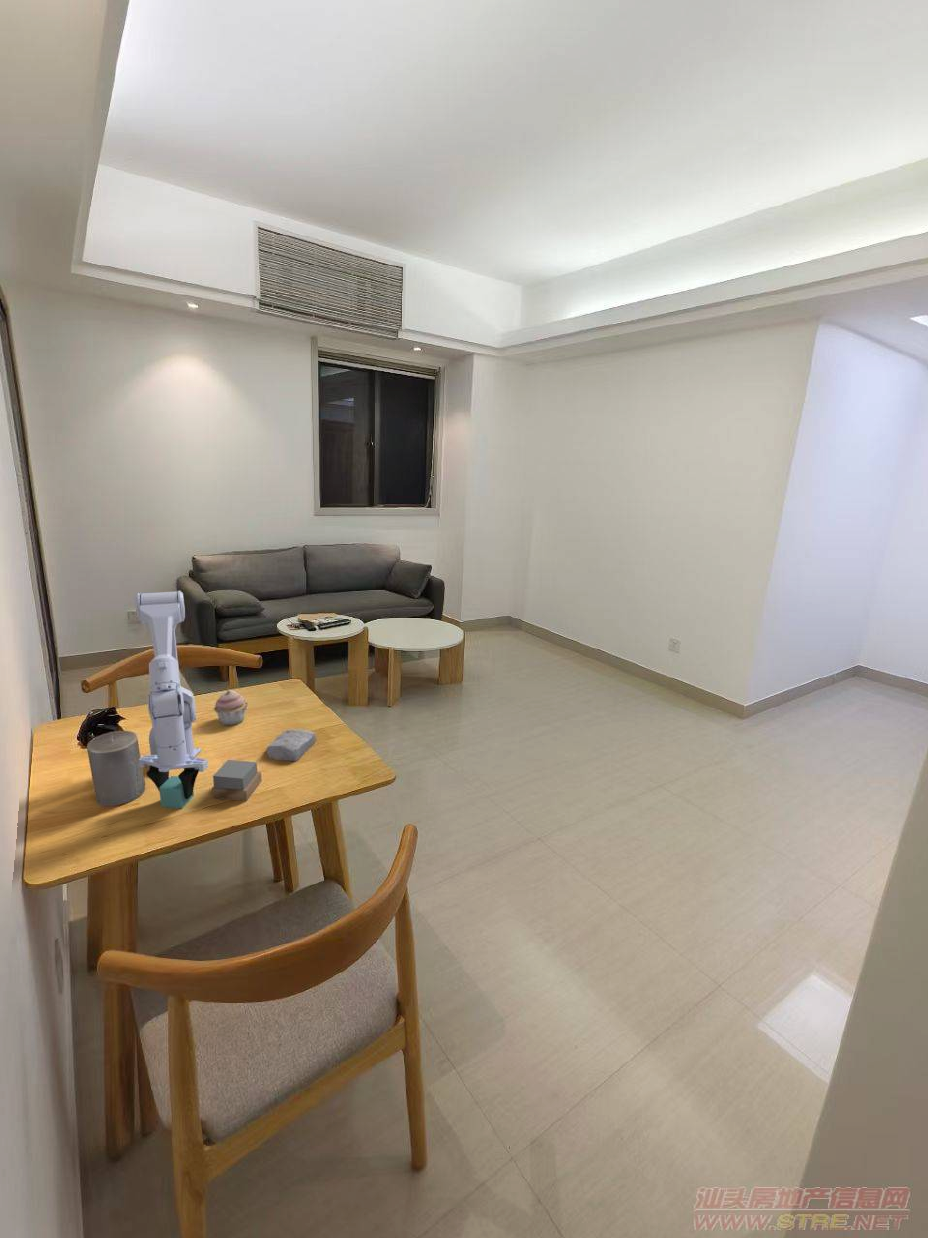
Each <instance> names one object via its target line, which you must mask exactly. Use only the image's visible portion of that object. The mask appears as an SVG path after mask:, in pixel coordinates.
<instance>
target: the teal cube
mask: <svg viewBox="0 0 928 1238" xmlns="http://www.w3.org/2000/svg"><path fill="white" fill-rule="evenodd" d="M194 791H195V790H193V795H192V796H191V797H190V798H189V799H185V797H184V791H183V786H182V783H181V781H180V779H179V777H178V775H170V776H169V779H168V780H167V781H166V782H165V783H164V784H163V785H162V786H161V787H160V788H159V790H158V792H159V797H160V807H161V808H169V809H170V808H173V809H184V808H185V806H187V804H188V803H189V802H190V801H191V799H193V798H194V797H195V793H194Z"/></svg>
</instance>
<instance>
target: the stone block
mask: <svg viewBox="0 0 928 1238" xmlns="http://www.w3.org/2000/svg"><path fill="white" fill-rule="evenodd" d="M316 741H317V735H316V732H313V731H310V730H305V729H301V728H295V729H288V730H285V731H283V732H282V733H281V734H279V735H278V736H276V737H275V739H274V740H273V741H272V742H271V743H269V744H268V745H267V746H266V753H267V756H268V757H269V758H270V759H274V760H283V761H293V762H297V761H299V760H300V759H301V758H302V757H303V756H304V755H305V752H308V751H309V749H310V748H312V747H313V745H315V743H316Z"/></svg>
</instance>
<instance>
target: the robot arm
mask: <svg viewBox="0 0 928 1238" xmlns="http://www.w3.org/2000/svg"><path fill="white" fill-rule="evenodd" d="M134 601H135V602H134V605H135V612H136V616H137V619H139V620H138V621H140V622H141V624H142V626H145V627H147V628H149V629H150V630H149V631H150V635H151V636H150V637H151V642H152V643H151V644H152V648H153V655H154V657H153V658H152V659H151V660H150V661H149V663H148V674H149V676H148V677H149V679H148V680H149V693H150V694H147V710H148V715H149V718H150V722H151V726H152V727H151V729H150V731H149V734H148V743H149V749H150V751H149V752H150V754H147V755H146V754H143V755H142V756H140V757H141V758H140V759H139V767H142V768H145V767H148V768H149V769H148V771H146V776H147V778H148V779H150V780H151V782H153V785H155V787H156V788H157V790H158V791H159V788H160V787H161V786H162V785H163V784H164V783H165V782H166V781H167V780H168V779H169V778H170V770H171V771H173V770H180V769H183V770H182V771H181V772H180V773H179V774H178V775H177V776H178V777H179V779H180V781H181V783H182V786H183V791H184V797H185V799H189V798H190V797H191V796H192V795H193V791H194V788H195V783H196V780H197V778H198V774H199V772H205V770H207V769H208V768H209V766H208V764H209V762H208V759H207V758H200V757H197V755H198V754H199V753H200V752H201V751H202V748H201V747H195V746H194V737H193V727H192V726H193V725H192V723H195V722H196V721H197V711H196V710H197V709H196V700H195V697H194V693H193V692H192V691H191V690H189V689H187V688H185V687H183V686H182V685H181V680H180V670H179V669H180V668H179V660H178V651H177V641H176V640H177V639H176V632H175V631H176V628H177V625H178V624H180V623H183V622H185V618H186V611H185V610H186V609H185V599H184V593H183V592H182V591H181V590H177V591H164V592H163V591H161V592H147V593H143V592H142V593H141V592H138V593H137V594H136V595H135V596H134Z"/></svg>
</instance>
